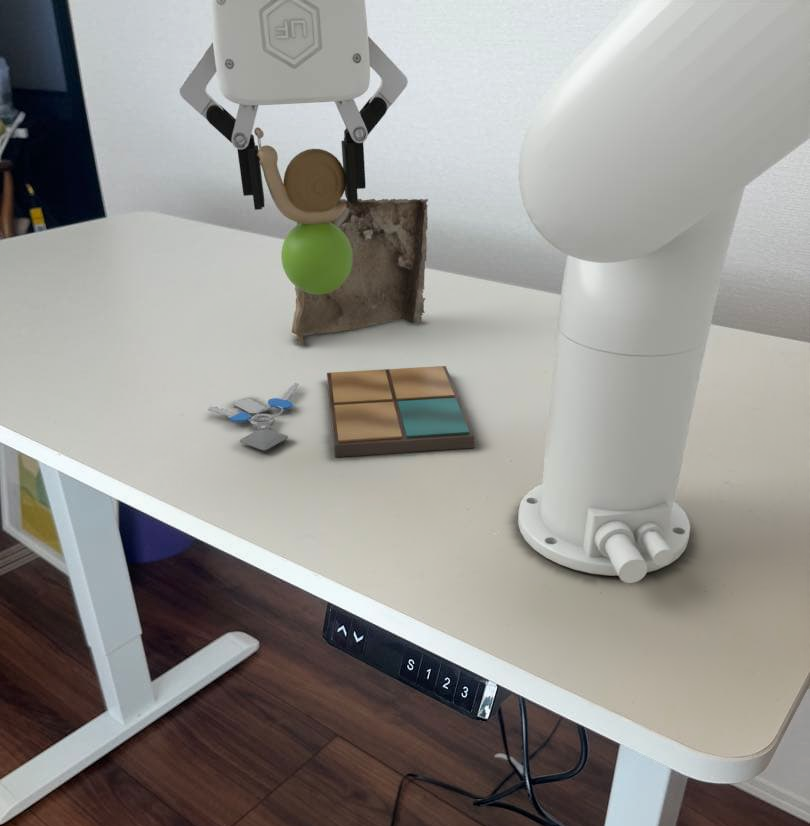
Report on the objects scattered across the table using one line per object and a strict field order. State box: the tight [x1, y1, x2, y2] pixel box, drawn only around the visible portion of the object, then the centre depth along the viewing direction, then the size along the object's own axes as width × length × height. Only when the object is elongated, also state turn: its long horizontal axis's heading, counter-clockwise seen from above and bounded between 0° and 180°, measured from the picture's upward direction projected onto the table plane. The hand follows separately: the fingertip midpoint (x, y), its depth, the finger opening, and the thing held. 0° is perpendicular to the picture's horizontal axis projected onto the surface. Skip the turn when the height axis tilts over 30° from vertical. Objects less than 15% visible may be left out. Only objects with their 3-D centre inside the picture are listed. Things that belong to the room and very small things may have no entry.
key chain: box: [207, 382, 299, 452], centre depth 77 cm, size 14×8×1 cm, turn 1°
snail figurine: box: [253, 127, 353, 294], centre depth 60 cm, size 5×6×12 cm
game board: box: [326, 365, 476, 458], centre depth 78 cm, size 16×12×1 cm
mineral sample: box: [291, 198, 429, 347], centre depth 93 cm, size 17×4×15 cm, turn 115°
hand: (305, 200), depth 60 cm, fingers closed on snail figurine, 6 cm apart
